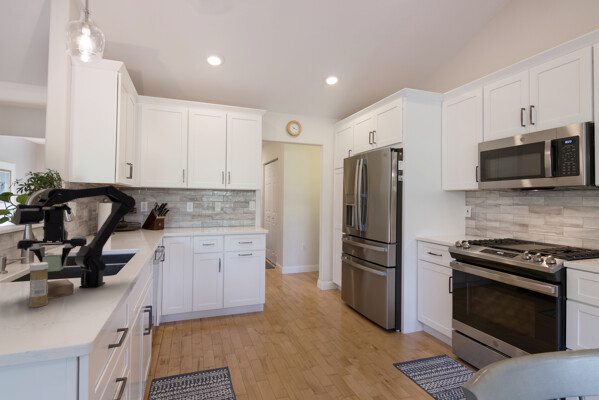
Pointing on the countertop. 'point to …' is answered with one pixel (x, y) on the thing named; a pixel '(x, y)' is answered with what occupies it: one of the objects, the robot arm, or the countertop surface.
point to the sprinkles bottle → (38, 284)
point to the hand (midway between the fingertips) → (53, 266)
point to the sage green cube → (53, 262)
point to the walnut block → (59, 288)
